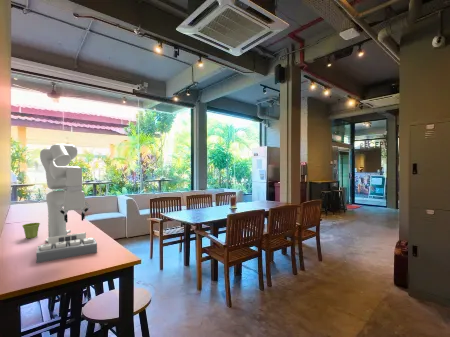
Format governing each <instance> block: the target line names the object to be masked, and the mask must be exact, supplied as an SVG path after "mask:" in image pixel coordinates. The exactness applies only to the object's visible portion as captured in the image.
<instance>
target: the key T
mask: <svg viewBox="0 0 450 337" xmlns="http://www.w3.org/2000/svg"><path fill="white" fill-rule="evenodd" d="M93 238H94V237H86V238H85V239H83V244H86V243H92V242H93Z"/></svg>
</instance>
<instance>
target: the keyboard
mask: <svg viewBox="0 0 450 337" xmlns="http://www.w3.org/2000/svg"><path fill="white" fill-rule="evenodd" d="M47 238H48V242H47V244H50V243H52V249H47V250H41V251H40V247H41V245H38V246H37V249H36V253H35V254H36V255H35V257H36V258H35V260H36V264H39V263H44V262H45V263H46V262H48V261H56V260H61V259H67V258H72V257H77V256H83V255H90V254H94V253H98V242H97V241H96V238H95V237H92V238H93V242H92V243H86V244H83V239H85V238H87V232H79V233H72V234H70V233H69V234H67V235H63V236H55V237H47ZM78 239H80V244H79V245H73V246H70V241H71V240H78ZM64 241H66V247H60V248H56V243H57V242H64Z"/></svg>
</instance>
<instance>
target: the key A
mask: <svg viewBox="0 0 450 337" xmlns="http://www.w3.org/2000/svg"><path fill="white" fill-rule="evenodd" d="M40 246H41V247H40V251H41V250H47V249H52V243H50V244H48V243H45V244H40Z"/></svg>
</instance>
